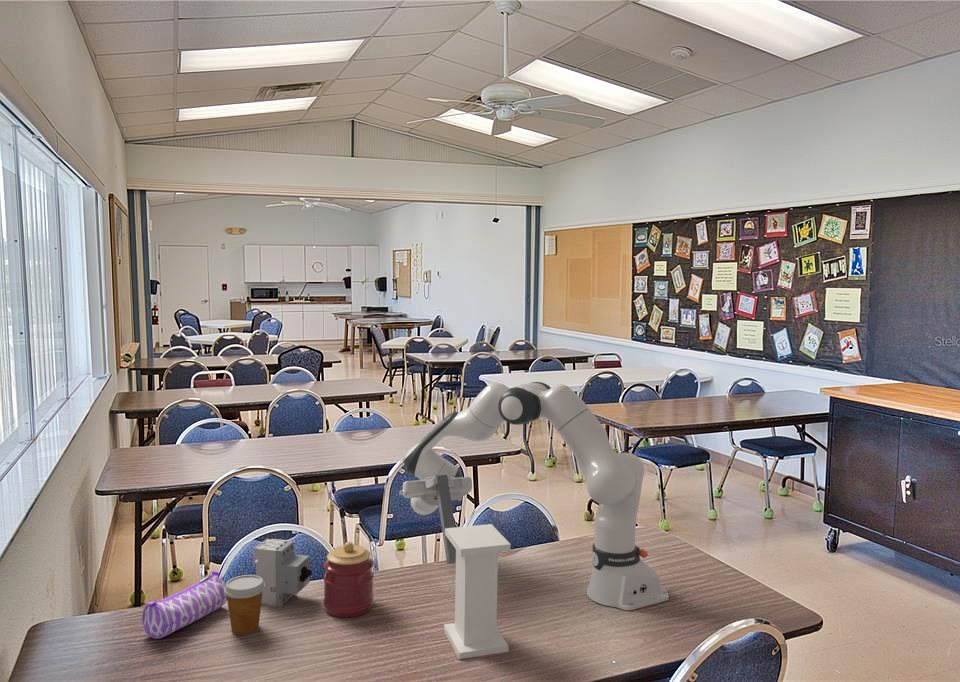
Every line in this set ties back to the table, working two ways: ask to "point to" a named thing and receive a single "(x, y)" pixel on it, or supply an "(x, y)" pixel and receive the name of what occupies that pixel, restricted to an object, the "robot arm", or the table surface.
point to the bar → (446, 515)
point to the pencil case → (184, 606)
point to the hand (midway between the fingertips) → (442, 480)
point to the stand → (476, 591)
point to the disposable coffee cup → (244, 603)
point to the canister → (348, 581)
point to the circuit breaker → (280, 570)
